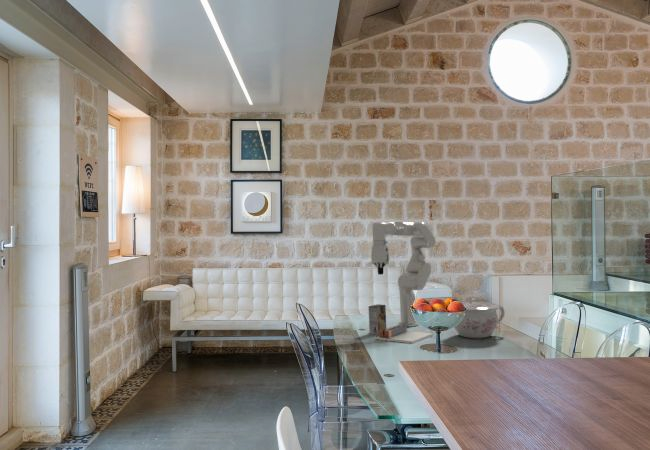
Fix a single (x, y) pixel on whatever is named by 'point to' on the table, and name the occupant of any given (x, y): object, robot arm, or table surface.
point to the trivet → (408, 337)
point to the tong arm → (394, 331)
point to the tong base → (382, 332)
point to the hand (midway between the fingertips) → (380, 274)
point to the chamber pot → (479, 319)
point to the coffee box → (377, 318)
